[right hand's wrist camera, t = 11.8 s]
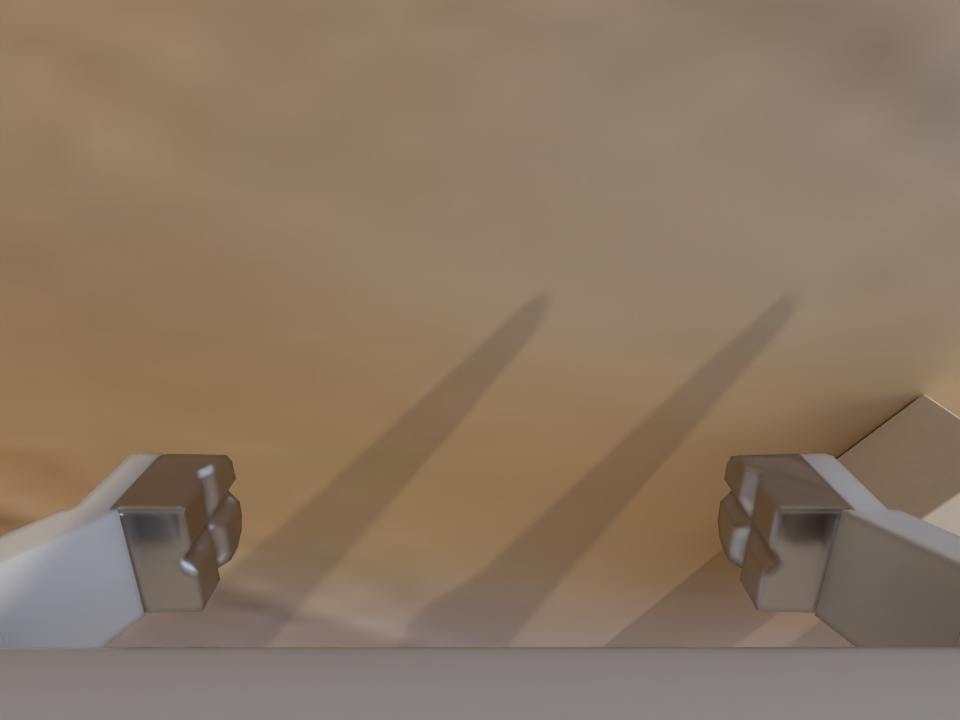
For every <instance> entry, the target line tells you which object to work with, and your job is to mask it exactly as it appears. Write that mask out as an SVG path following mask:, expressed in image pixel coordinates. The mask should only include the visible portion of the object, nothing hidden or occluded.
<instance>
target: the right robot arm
mask: <svg viewBox="0 0 960 720" xmlns="http://www.w3.org/2000/svg"><path fill="white" fill-rule="evenodd" d="M235 479H236V478H235V473H234V468H233V464H232V461H231V459H230V458H229V457H228V456H227V455H203V454H163V453H151V454H133V455H128V456H127V457H126V458H125V459H124V460H123V461H122V462H121V463H120V464H119V465H118V466H117V467H116V468H115V469H114V470H113V471H111V472H110V473H109V474H108V475H107V476H106V477H105V478H104V479H103V480H102V481H101V482H100V483H99V484H98V485H97V486H96V487H95V488H94V489H93V490H92V491H91V492H90V493H89V494H88V495H87V496H86V497H85V498H84V499H83V500H81V501H80V502H79V503H78V504H77V505H76V506H75V507H74V508H73V509H72V510H60V511H58V512H55V513H53V514H51V515H48V516H46V517H44V518H41V519H39V520H37V521H34V522H32V523H30V524H27V525H25V526H23V527H20V528H18V529H16V530H13V531H11V532H9V533H6V534H4V535H2V536H0V720H960V536H958V535H956V534H954V533H951V532H949V531H947V530H944V529H942V528H940V527H937V526H935V525H933V524H930V523H928V522H926V521H923V520H921V519H919V518H916V517H914V516H912V515H909V514H907V513H905V512H902V511H900V510H888V509H887V508H886V507H885V506H884V505H883V504H882V503H881V502H880V501H879V500H878V499H877V498H875V497H874V496H873V495H872V494H871V493H870V492H869V491H868V490H867V489H866V488H865V487H864V486H863V485H862V484H861V483H860V482H859V481H858V480H857V479H856V478H855V477H854V476H853V475H852V474H851V473H850V472H849V471H848V470H847V469H846V468H845V467H843V466H842V465H841V464H840V463H839V462H838V461H837V460H836V459H835V458H834V457H833V456H831V455H828V454H826V453H814V454H778V455H738V456H731V457H730V460H729V462H728V464H727V467H726V472H725V478H724V479H725V481H726V482H727V484H728V485H729V487H730V488H731V490H732V491H731V492H730V493H729V494H728V495H727V496H726V497H725V498H724V499H723V500H722V501H721V502H720V508H719V515H718V526H719V537H720V540H721V543H722V547H723V549H724V551H725V553H726V555H727V557H728V559H729V560H730V561H732V562H733V563H735V564H736V565H738V566H739V567H741V568H742V571H741V577H740V581H741V582H742V584H743V586H744V588H745V589H746V591H747V593H748V595H749V597H750V598H751V600H752V602H753V604H754V605H755V607H756V609H757V611H771V612H807V613H815V616H817V617H818V618H819V619H820V620H822V621H823V622H824V623H826V624H827V625H828V626H830V627H831V628H832V629H833V630H835V631H836V632H837V633H839V634H840V635H841V636H843V637H844V638H845V639H846V640H848V641H849V642H850V643H852V644H853V645H854V646H855V647H105V646H106V645H107V644H109V643H110V642H111V641H112V640H114V639H115V638H116V637H118V636H119V635H120V634H122V633H123V632H124V631H125V630H127V629H128V628H129V627H131V626H132V625H133V624H135V623H136V622H137V621H138V620H140V619H141V618H142V617H144V616H145V613H152V612H188V611H203V609H204V607H205V605H206V604H207V602H208V600H209V598H210V597H211V595H212V593H213V591H214V589H215V588H216V586H217V584H218V582H219V581H220V577H219V571H218V568H219V567H221V566H222V565H224V564H225V563H227V562H228V561H230V560H231V559H232V557H233V555H234V553H235V551H236V549H237V547H238V543H239V539H240V535H241V530H242V513H241V507H240V502H239V501H238V500H237V499H236V498H235V497H234V496H233V495H232V494H231V493H230V492H229V491H228V490H229V488H230V487H231V485H232V484H233V482H234V481H235Z"/></svg>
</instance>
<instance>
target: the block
mask: <svg viewBox="0 0 960 720" xmlns="http://www.w3.org/2000/svg"><path fill="white" fill-rule="evenodd" d="M836 460H837V461H838V462H839V463H840V464H841V465H842V466H843V467H845V468H846V469H847V470H848V471H849V472H850V473H851V474H852V475H853V476H854V477H855V478H856V479H857V480H858V481H859V482H860V483H861V484H862V485H863V486H864V487H865V488H866V489H867V490H868V491H869V492H870V493H871V494H872V495H873V496H874V497H875V498H877V499H878V500H879V501H880V502H881V503H882V504H883V505H884V506H885V507H886V508H887V509H888V510H900V511H902V512H905V513H907V514H909V515H912V516H914V517H916V518H919V519H921V520H923V521H926V522H928V523H930V524H933V525H935V526H937V527H940V528H942V529H944V530H947V531H949V532H951V533H954V534H956V535H958V536H960V418H959V417H957V416H956V415H954V414H953V413H951V412H950V411H948V410H947V409H945V408H944V407H942V406H941V405H939V404H938V403H936V402H935V401H934V400H932V399H931V398H929V397H928V396H926V395H922V396H920V397H919V398H918V399H916V400H915V401H914V402H912V403H911V404H910V405H908V406H907V407H906V408H904V409H903V410H902V411H900V412H899V413H898V414H896V415H895V416H894V417H892V418H891V419H890V420H888V421H887V422H886V423H884V424H883V425H882V426H880V427H879V428H878V429H876V430H875V431H874V432H872V433H871V434H870V435H868V436H867V437H866V438H864V439H863V440H862V441H860V442H859V443H858V444H856V445H855V446H854V447H852V448H851V449H850V450H848V451H847V452H846V453H844V454H843V455H842V456H840V457H839V458H838V459H836Z"/></svg>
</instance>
